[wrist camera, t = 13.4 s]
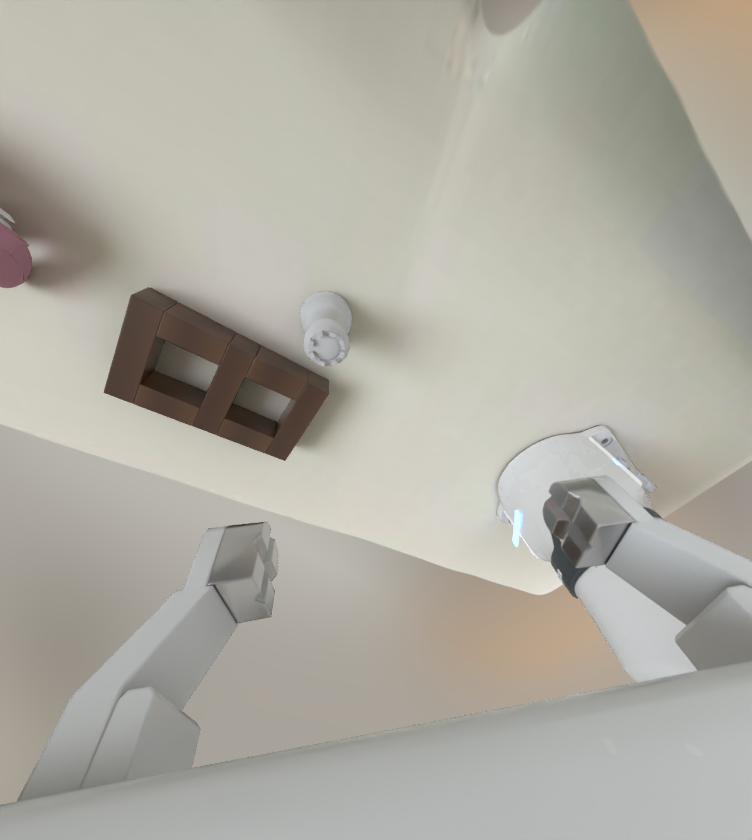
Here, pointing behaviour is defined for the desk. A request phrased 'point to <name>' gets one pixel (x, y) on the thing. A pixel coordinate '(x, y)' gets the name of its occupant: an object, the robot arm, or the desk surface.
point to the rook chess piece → (326, 328)
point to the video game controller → (12, 255)
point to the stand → (236, 358)
